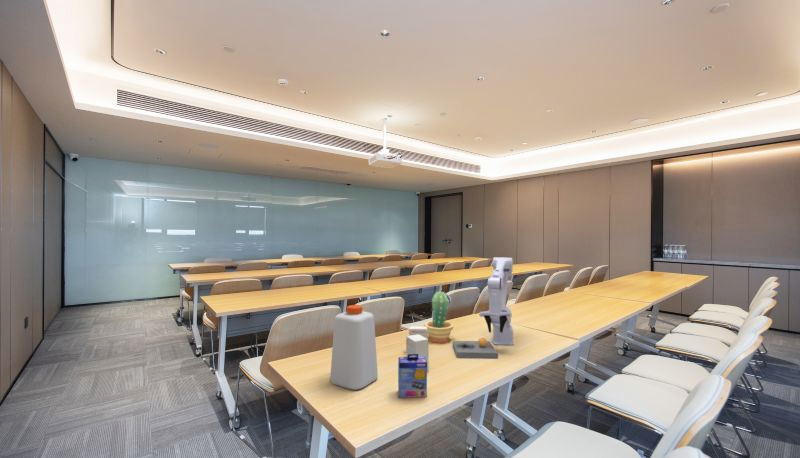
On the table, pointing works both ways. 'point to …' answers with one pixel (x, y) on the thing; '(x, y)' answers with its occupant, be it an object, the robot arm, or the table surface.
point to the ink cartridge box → (412, 376)
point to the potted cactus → (439, 318)
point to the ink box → (418, 331)
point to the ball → (482, 342)
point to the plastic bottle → (354, 349)
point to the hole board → (474, 350)
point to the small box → (417, 346)
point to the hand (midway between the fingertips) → (495, 331)
